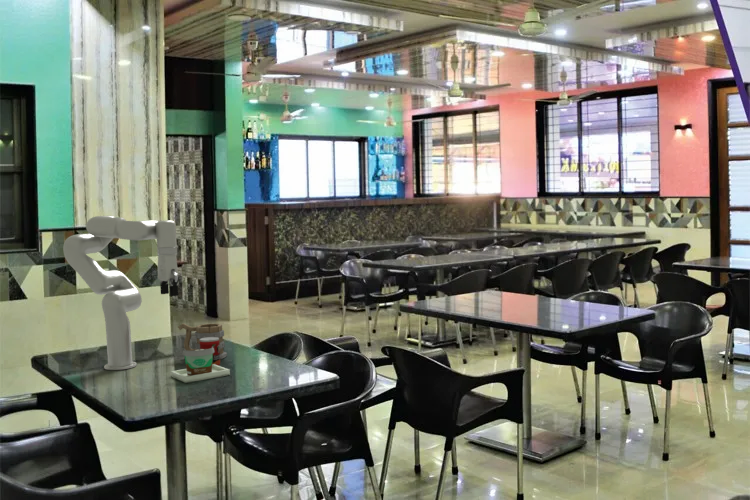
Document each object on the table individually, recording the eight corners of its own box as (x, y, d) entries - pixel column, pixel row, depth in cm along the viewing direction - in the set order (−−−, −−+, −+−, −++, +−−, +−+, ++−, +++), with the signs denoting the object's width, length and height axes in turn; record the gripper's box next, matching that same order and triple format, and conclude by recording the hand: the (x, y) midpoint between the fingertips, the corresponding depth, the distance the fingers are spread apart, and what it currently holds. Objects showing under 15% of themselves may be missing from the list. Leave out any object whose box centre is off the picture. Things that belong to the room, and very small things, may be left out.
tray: (171, 376, 299) (170, 371, 299) (214, 369, 310) (214, 364, 310) (185, 382, 288) (185, 377, 288) (229, 374, 298) (229, 369, 298)
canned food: (216, 367, 313) (214, 340, 312) (197, 367, 314) (196, 340, 314) (223, 363, 320) (222, 336, 319) (205, 363, 322) (204, 336, 321)
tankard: (230, 354, 338) (228, 320, 337) (219, 361, 325) (217, 325, 324) (186, 354, 341) (185, 320, 340) (174, 360, 329) (172, 325, 328)
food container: (187, 378, 292) (186, 352, 291) (183, 375, 297) (182, 349, 296) (219, 374, 297) (218, 348, 297) (215, 371, 303) (213, 345, 302)
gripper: (150, 251, 312) (152, 294, 313) (166, 253, 298) (168, 297, 299) (168, 250, 316) (170, 292, 317) (184, 252, 302) (187, 295, 303)
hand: (169, 294), depth 308 cm, fingers open, 9 cm apart
